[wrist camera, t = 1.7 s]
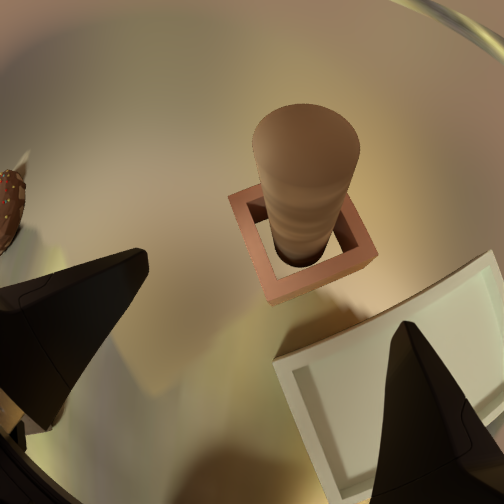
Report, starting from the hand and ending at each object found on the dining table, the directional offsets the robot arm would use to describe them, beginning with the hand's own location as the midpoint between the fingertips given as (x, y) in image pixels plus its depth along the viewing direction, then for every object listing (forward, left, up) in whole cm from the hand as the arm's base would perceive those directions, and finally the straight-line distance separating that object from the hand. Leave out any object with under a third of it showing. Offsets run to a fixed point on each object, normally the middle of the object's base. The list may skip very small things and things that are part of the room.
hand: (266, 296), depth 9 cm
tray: (+8, -10, -12) cm, 18 cm away
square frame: (+3, +5, -12) cm, 13 cm away
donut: (-33, +24, -12) cm, 43 cm away
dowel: (+3, +5, -12) cm, 13 cm away
